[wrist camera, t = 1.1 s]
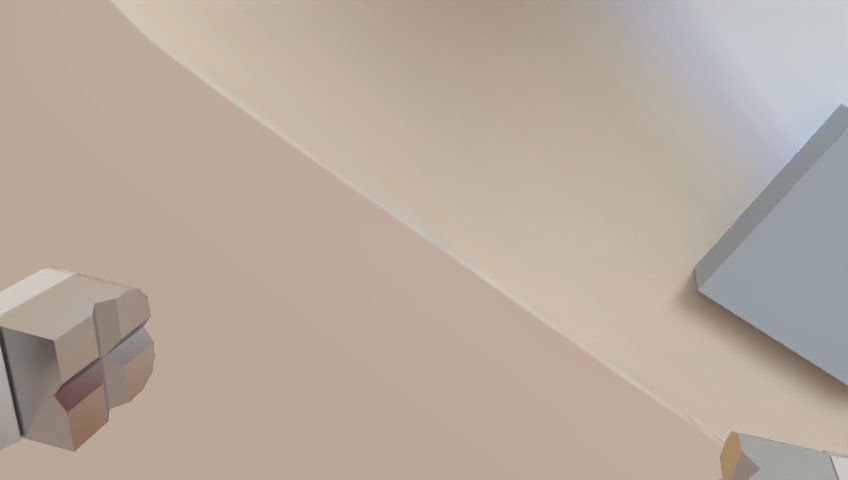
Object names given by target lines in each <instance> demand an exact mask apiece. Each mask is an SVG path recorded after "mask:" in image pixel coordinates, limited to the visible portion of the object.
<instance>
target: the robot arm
mask: <svg viewBox="0 0 848 480" xmlns="http://www.w3.org/2000/svg"><path fill="white" fill-rule="evenodd" d="M150 317H151V315H150V308H149V303H148V296H146V295H145V294H144V293H143V292H142V291H141V290H139V289H137V288H133V287H129V286H125V285H122V284H117V283H114V282H110V281H106V280H103V279H98V278H95V277H91V276H87V275H81V274H79V273H75V272H71V271H67V270H63V269H58V268H44V269H42V270H40V271H38V272H36V273H35V274H33V275H31V276H29V277H27V278H25V279H23V280H22V281H20V282H18V283H16V284H15V285H12V286H11V287H9V288H7V289H5V290H3V291H1V292H0V450H1V449H3V448H5V447H7V446H10V445H12V444H14V443H17V442H19V441H21V437H22V438H26V439H30V440H33V441H37V442H41V443H44V444H48V445H52V446H55V447H59V448H63V449H66V450H70V451H76V450H77V449H78V448H79V447H80V446H81V445H82V444H83V443H85V442H86V441H87V440H88V439H89V438H90V437H91V436H92V435H93V434H94V433H96V432H97V431H98V430H99V429H100V428H101V427H102V426H104V424H106V423H107V422H108V418H109V410H110V409H111V408H114V407H117V406H120V405H123V404H125V403H128V402H130V401H131V400H132V399H133V398H134V397H135V396H136V395H137V394H139V393H140V392H141V391H142V390H143V388H144V386H145V384H146V382H147V381H148V379H149V377H150V375H151V373H152V370H153V363H154V358H155V353H154V342H153V340H152V339H151V337H150V336H149V335H148V333H147V332H146V330H145V329H144V327H143V326H144V325H145V323H146V322H147V321H148V319H149V318H150ZM720 460H721V467H722V474H723V478H722V479H720V480H848V456H845V455H841V454H836V453H831V452H826V451H822V452H821V451H816V450H812V449H808V448H803V447H799V446H795V445H790V444H786V443H781V442H777V441H773V440H768V439H764V438H759V437H755V436H751V435H746V434H742V433H737V432H733V431H732V432H731V433H730V435H729V437H728V438H727V440H726V442H725V445H724V448H723V450H722V453H721V456H720Z"/></svg>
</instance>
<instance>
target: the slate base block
mask: <svg viewBox="0 0 848 480" xmlns="http://www.w3.org/2000/svg"><path fill="white" fill-rule="evenodd" d="M694 269H695V276H696V283H697V289H698V291H699V292H701V293H702V294H704V295H705V296H707V297H708V298H710V299H712V300H713V301H715V302H716V303H718V304H720V305H721V306H723V307H724V308H726V309H727V310H729V311H731V312H732V313H734V314H735V315H737V316H738V317H740V318H742V319H743V320H745V321H746V322H748V323H750V324H751V325H753V326H754V327H756V328H757V329H759V330H761V331H762V332H764V333H765V334H767V335H768V336H770V337H772V338H773V339H775V340H776V341H778V342H780V343H781V344H783V345H784V346H786V347H787V348H789V349H791V350H792V351H794V352H795V353H797V354H798V355H800V356H802V357H803V358H805V359H806V360H808V361H810V362H811V363H813V364H814V365H816V366H817V367H819V368H821V369H822V370H824V371H825V372H827V373H829V374H830V375H832V376H833V377H835V378H836V379H838V380H840V381H841V382H843V383H844V384H846V385H847V386H848V107H846V106H844V105H843V104H841V105H840V106H839V107H838V108H837V110H836V111H835V112H834V113H833V114H832V115H831V116H830V117H829V118H828V120H827V121H826V122H825V123H824V124H823V125H822V126H821V127H820V128H819V130H818V131H817V132H816V133H815V134H814V135H813V136H812V137H811V139H810V140H809V141H808V142H807V143H806V144H805V145H804V146H803V147H802V149H801V150H800V151H799V152H798V153H797V154H796V155H795V156H794V157H793V159H792V160H791V161H790V162H789V163H788V164H787V165H786V166H785V167H784V169H783V170H782V171H781V172H780V173H779V174H778V175H777V176H776V177H775V179H774V180H773V181H772V182H771V183H770V184H769V185H768V186H767V188H766V189H765V190H764V191H763V192H762V193H761V194H760V195H759V196H758V198H757V199H756V200H755V201H754V202H753V203H752V204H751V205H750V206H749V208H748V209H747V210H746V211H745V212H744V213H743V214H742V215H741V216H740V218H739V219H738V220H737V221H736V222H735V223H734V224H733V225H732V227H731V228H730V229H729V230H728V231H727V232H726V233H725V234H724V235H723V237H722V238H721V239H720V240H719V241H718V242H717V243H716V244H715V245H714V247H713V248H712V249H711V250H710V251H709V252H708V253H707V254H706V255H705V257H704V258H703V259H702V260H701V261H700V262H699V263H698V264H697V265H696V267H695V268H694Z"/></svg>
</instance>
